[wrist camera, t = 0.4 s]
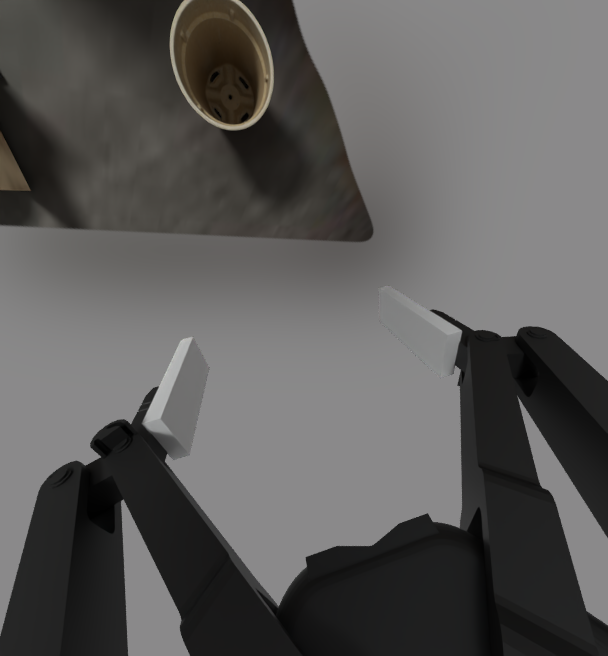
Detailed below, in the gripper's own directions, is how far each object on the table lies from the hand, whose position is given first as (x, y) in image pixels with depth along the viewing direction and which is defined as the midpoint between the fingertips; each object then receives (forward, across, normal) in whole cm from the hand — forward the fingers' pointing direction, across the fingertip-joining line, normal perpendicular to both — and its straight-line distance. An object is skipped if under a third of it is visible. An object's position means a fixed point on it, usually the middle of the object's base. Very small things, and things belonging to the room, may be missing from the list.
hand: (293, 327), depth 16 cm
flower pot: (+27, 0, +19) cm, 33 cm away
